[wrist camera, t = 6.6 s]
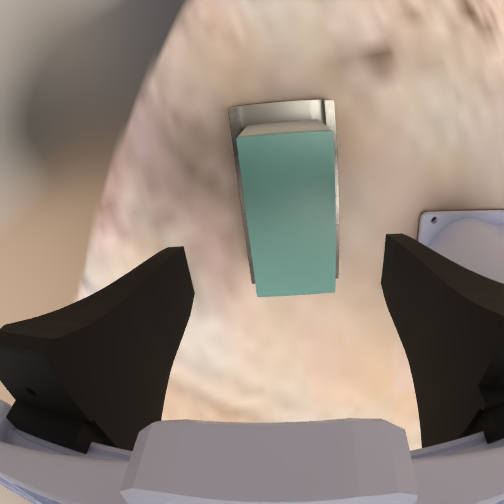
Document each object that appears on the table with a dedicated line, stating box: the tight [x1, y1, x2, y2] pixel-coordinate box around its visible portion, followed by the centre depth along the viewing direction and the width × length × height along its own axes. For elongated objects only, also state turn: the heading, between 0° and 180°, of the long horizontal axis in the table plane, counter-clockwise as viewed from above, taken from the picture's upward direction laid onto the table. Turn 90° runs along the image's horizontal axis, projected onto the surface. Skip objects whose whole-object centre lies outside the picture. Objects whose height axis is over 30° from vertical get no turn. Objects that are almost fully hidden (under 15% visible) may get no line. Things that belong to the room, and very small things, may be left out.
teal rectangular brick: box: [236, 120, 336, 297], centre depth 17 cm, size 4×8×5 cm, turn 7°
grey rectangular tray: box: [228, 99, 339, 284], centre depth 19 cm, size 6×11×2 cm, turn 7°
